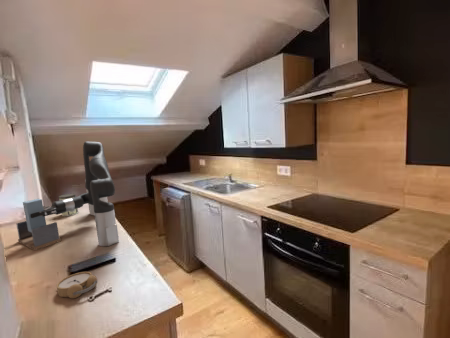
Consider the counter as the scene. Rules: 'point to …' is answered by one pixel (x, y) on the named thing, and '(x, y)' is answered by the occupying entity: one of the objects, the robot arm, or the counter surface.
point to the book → (32, 208)
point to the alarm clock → (76, 284)
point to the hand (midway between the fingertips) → (28, 215)
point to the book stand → (30, 243)
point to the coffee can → (68, 198)
